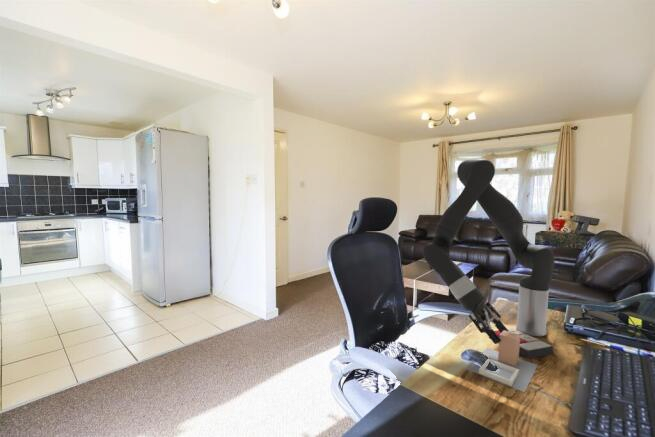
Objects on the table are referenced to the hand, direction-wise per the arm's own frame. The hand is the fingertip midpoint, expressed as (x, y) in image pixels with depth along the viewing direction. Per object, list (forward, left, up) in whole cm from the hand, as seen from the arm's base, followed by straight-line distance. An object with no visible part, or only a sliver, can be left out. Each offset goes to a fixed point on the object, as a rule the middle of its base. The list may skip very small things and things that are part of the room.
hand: (502, 338), depth 92 cm
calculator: (-14, +2, -8) cm, 17 cm away
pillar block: (0, +2, -6) cm, 7 cm away
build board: (+5, +2, -7) cm, 9 cm away
